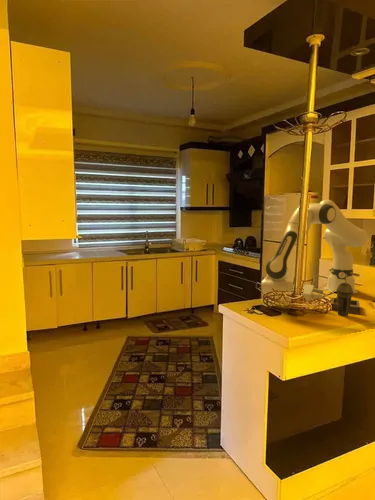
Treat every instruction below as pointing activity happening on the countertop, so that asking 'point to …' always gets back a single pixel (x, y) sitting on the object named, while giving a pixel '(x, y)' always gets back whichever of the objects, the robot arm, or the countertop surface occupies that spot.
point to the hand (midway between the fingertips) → (322, 294)
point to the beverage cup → (344, 298)
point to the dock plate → (353, 306)
